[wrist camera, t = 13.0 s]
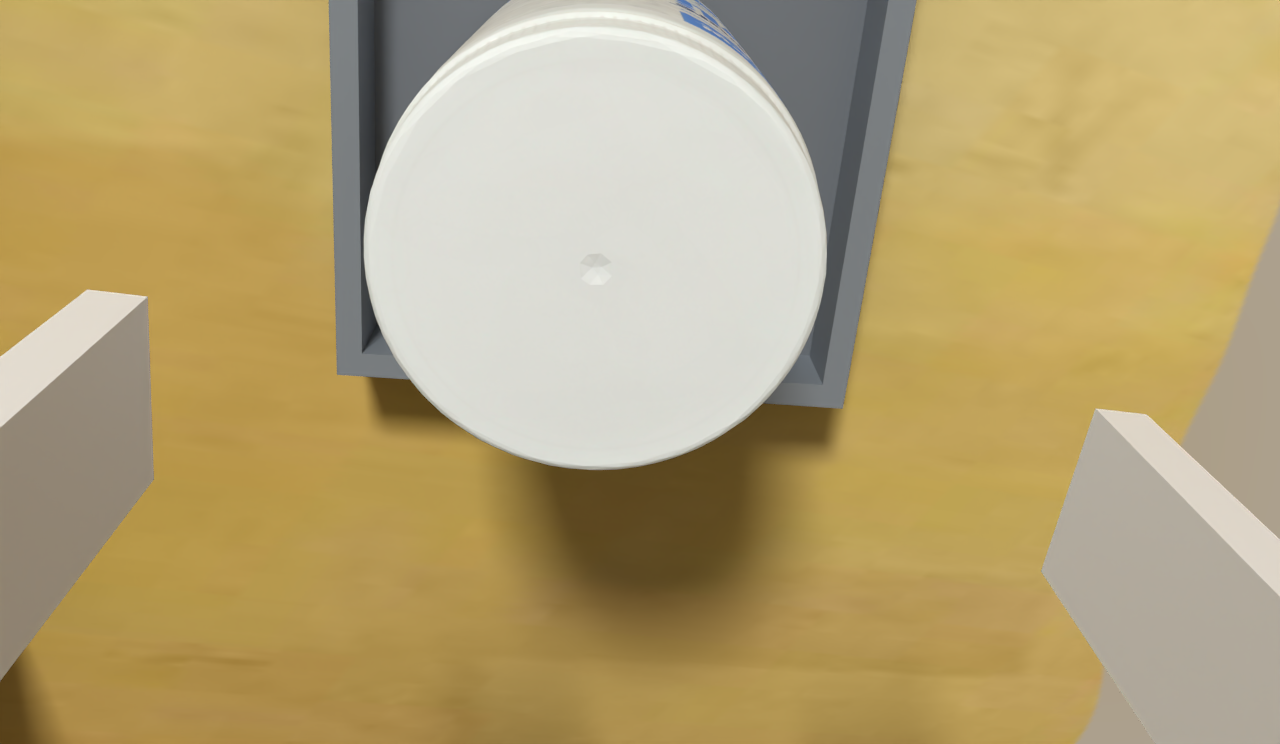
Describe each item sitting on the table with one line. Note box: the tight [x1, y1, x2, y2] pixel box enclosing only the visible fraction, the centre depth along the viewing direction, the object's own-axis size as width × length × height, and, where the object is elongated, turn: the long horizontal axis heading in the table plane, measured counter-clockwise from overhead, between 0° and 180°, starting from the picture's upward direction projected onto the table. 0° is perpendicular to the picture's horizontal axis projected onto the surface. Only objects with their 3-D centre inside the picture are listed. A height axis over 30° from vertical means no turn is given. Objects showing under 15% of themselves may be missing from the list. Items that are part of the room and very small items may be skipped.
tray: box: [329, 0, 916, 409], centre depth 34 cm, size 17×17×4 cm
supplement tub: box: [364, 0, 827, 470], centre depth 28 cm, size 10×10×15 cm
